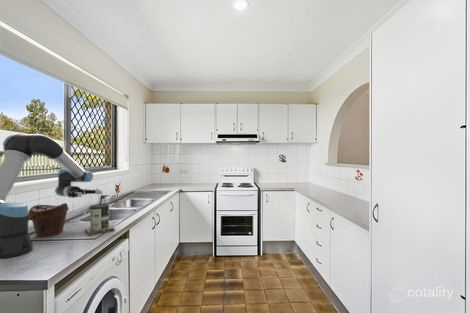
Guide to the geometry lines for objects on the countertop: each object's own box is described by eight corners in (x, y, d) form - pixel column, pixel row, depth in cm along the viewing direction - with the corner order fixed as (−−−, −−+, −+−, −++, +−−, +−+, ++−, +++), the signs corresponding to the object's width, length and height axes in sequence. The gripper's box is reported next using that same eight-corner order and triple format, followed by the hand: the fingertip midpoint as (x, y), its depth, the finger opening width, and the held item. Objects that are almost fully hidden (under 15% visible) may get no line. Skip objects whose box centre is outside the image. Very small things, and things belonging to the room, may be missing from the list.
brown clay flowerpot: (26, 232, 150) (26, 202, 149) (66, 227, 162) (67, 199, 162) (27, 241, 136) (27, 208, 136) (70, 234, 149) (71, 204, 149)
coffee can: (107, 225, 161) (107, 203, 161) (110, 229, 153) (110, 206, 153) (89, 227, 156) (89, 205, 156) (90, 232, 147) (90, 208, 147)
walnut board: (88, 235, 146) (88, 232, 146) (85, 230, 154) (85, 228, 154) (114, 230, 155) (114, 228, 155) (109, 226, 163) (109, 224, 163)
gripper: (90, 195, 182) (109, 197, 172) (52, 199, 160) (71, 202, 150) (90, 184, 182) (109, 186, 172) (52, 187, 160) (71, 189, 150)
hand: (92, 193), depth 161 cm, fingers open, 13 cm apart
